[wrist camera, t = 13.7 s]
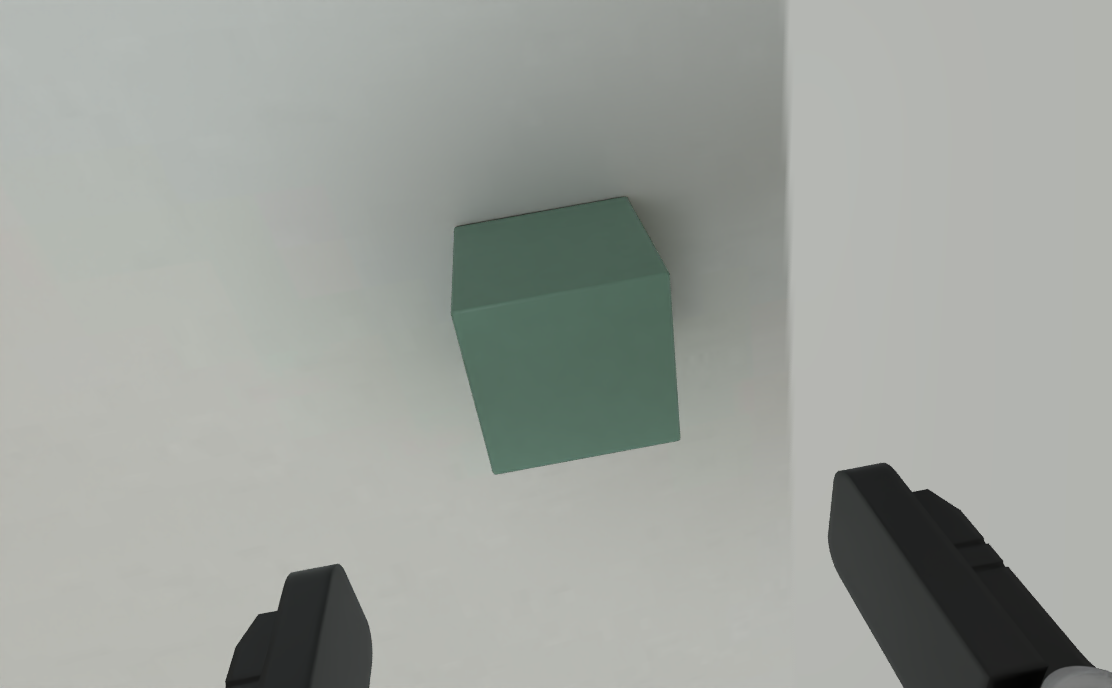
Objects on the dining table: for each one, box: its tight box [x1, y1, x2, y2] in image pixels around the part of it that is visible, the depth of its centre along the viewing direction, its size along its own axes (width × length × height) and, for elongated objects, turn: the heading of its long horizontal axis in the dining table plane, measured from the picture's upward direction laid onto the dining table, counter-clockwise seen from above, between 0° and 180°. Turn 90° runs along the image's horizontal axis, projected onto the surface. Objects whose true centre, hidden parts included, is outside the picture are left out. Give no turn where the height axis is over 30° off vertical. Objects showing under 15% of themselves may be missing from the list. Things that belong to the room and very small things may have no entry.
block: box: [451, 197, 680, 475], centre depth 17 cm, size 5×5×5 cm
